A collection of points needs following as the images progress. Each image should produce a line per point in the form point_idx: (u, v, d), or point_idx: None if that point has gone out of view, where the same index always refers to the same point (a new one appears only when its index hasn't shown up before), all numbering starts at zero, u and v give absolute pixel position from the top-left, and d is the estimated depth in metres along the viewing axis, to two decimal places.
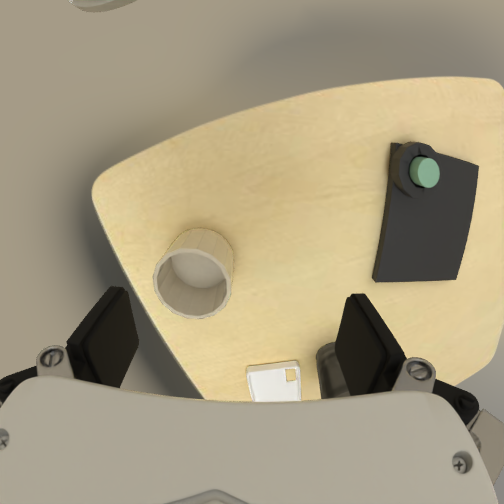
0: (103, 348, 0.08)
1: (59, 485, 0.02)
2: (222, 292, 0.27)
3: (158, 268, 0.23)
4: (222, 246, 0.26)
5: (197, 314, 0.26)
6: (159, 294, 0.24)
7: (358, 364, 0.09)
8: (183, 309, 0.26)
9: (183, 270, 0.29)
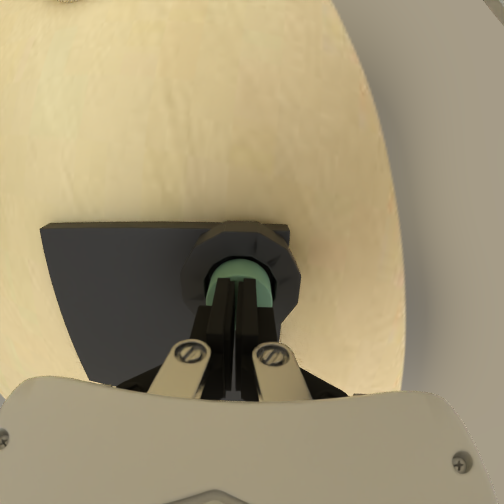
0: (231, 337, 0.09)
1: (59, 485, 0.02)
2: None
3: None
4: None
5: None
6: None
7: None
8: None
9: None
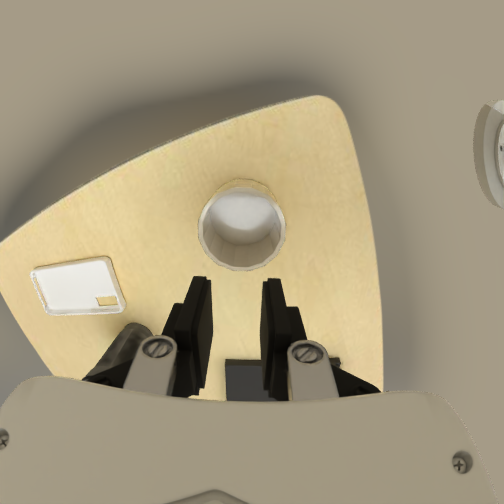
0: (202, 335, 0.09)
1: (59, 485, 0.02)
2: (221, 249, 0.26)
3: (263, 196, 0.21)
4: None
5: (202, 233, 0.23)
6: (230, 193, 0.21)
7: (264, 345, 0.10)
8: (206, 215, 0.23)
9: (232, 195, 0.27)
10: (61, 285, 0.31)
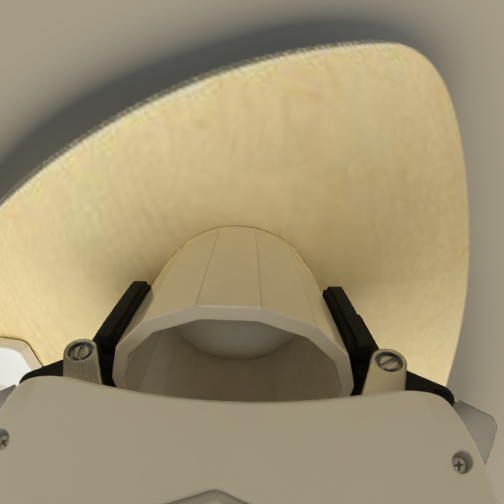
0: None
1: (59, 485, 0.02)
2: (188, 393, 0.10)
3: (300, 332, 0.06)
4: None
5: None
6: (184, 322, 0.06)
7: None
8: (131, 357, 0.07)
9: None
10: None
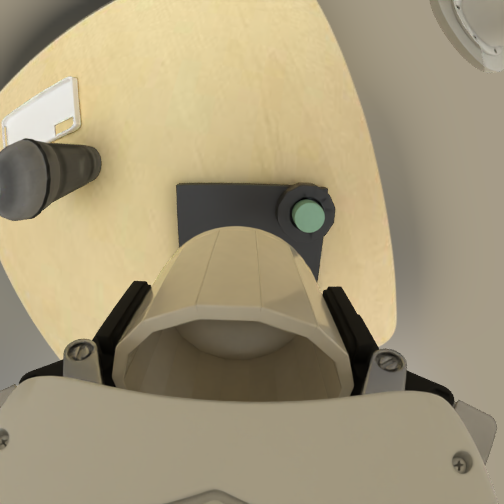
0: None
1: (59, 485, 0.02)
2: (188, 393, 0.10)
3: (300, 332, 0.06)
4: None
5: None
6: (184, 322, 0.06)
7: None
8: (131, 357, 0.07)
9: None
10: (26, 125, 0.24)
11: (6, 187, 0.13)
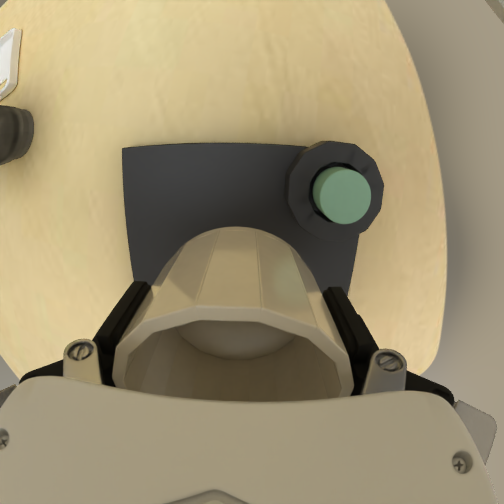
0: None
1: (59, 485, 0.02)
2: (188, 394, 0.10)
3: (300, 332, 0.06)
4: None
5: None
6: (184, 322, 0.06)
7: None
8: (132, 357, 0.07)
9: None
10: None
11: None
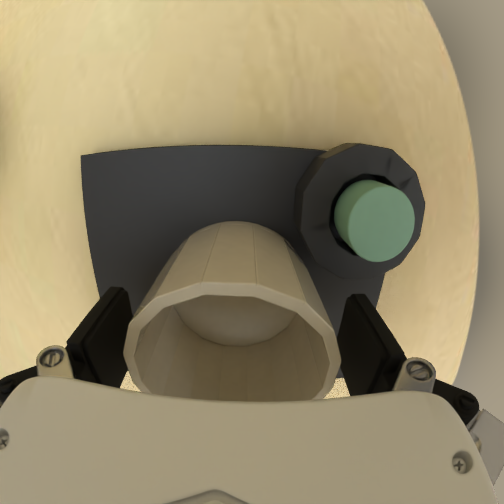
0: (103, 348, 0.08)
1: (59, 485, 0.02)
2: (191, 375, 0.11)
3: (290, 307, 0.07)
4: None
5: (140, 371, 0.09)
6: (191, 298, 0.07)
7: (358, 364, 0.09)
8: (141, 335, 0.08)
9: None
10: None
11: None
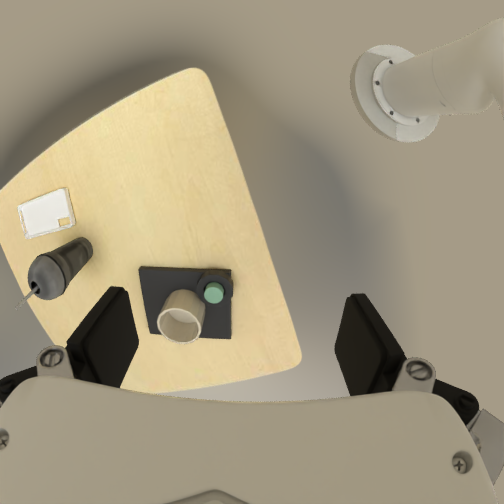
0: (103, 348, 0.08)
1: (59, 485, 0.02)
2: (172, 329, 0.45)
3: (186, 312, 0.40)
4: None
5: (160, 326, 0.42)
6: (170, 310, 0.40)
7: (358, 364, 0.09)
8: (161, 317, 0.42)
9: None
10: (37, 214, 0.41)
11: (43, 288, 0.30)
